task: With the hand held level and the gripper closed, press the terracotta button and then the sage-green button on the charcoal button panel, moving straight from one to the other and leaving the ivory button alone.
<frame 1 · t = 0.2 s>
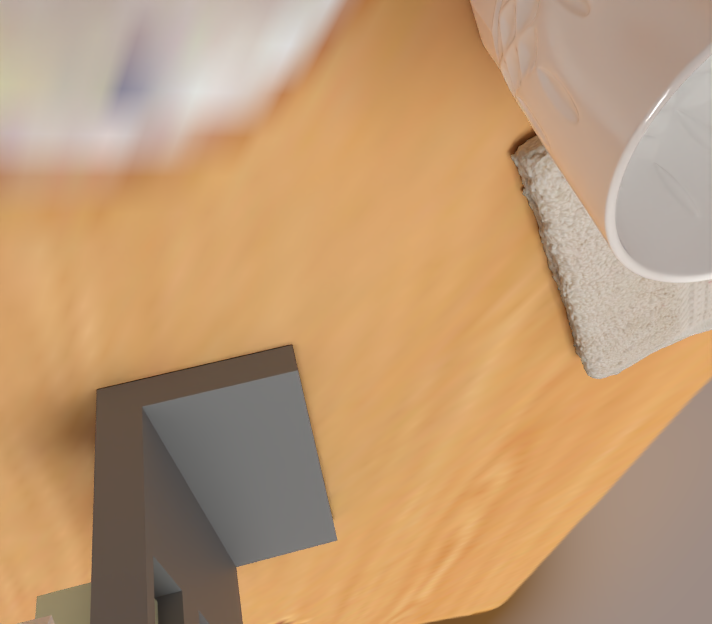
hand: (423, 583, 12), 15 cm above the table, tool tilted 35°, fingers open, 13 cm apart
washcloth: (657, 210, 31), on the table
button panel: (179, 483, 37), on the table
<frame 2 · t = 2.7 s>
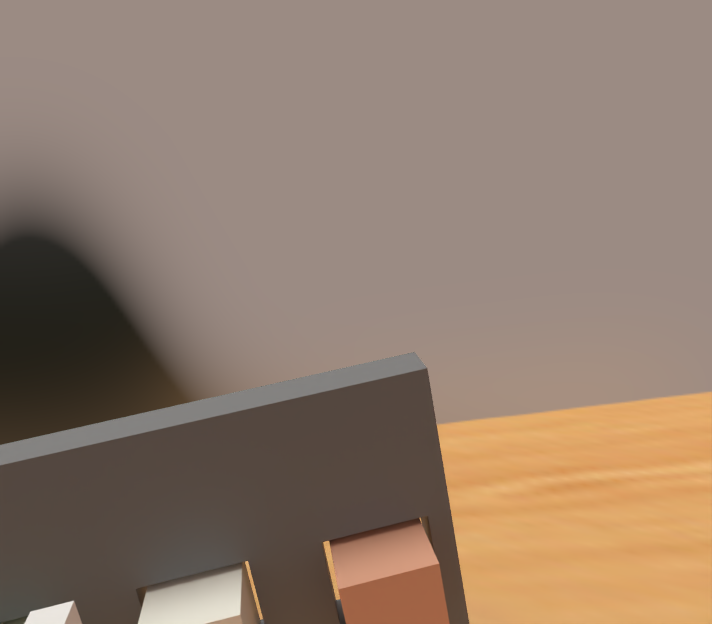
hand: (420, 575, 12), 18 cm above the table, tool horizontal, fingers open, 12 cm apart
terracotta button: (388, 587, 25), point 10 cm above the table, slide at 0.0 cm
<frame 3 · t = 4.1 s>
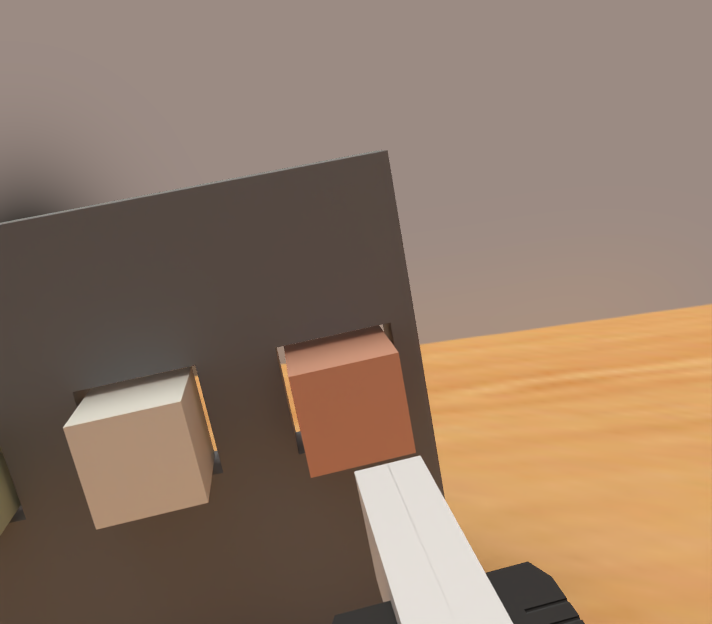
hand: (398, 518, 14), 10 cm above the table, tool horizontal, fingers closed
ivory button: (146, 442, 22), point 10 cm above the table, slide at 0.0 cm
terracotta button: (346, 396, 23), point 10 cm above the table, slide at 0.0 cm
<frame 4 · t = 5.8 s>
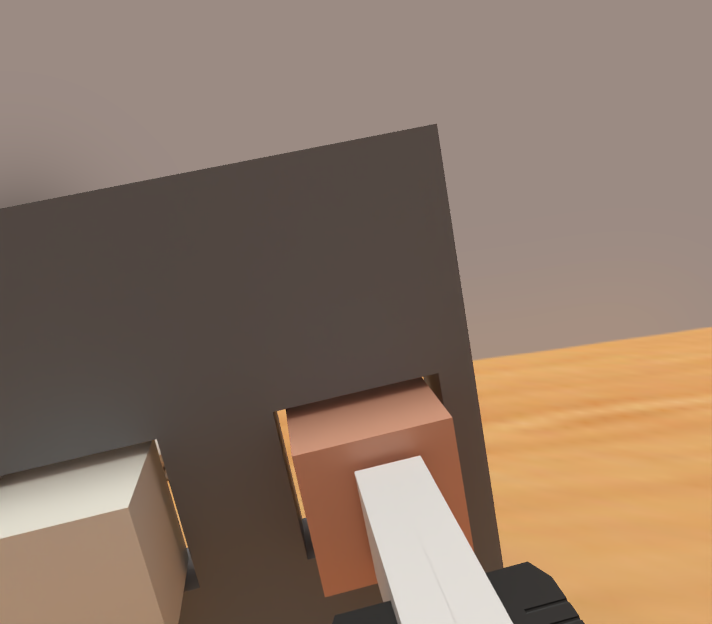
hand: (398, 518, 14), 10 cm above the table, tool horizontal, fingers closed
ivory button: (85, 555, 15), point 10 cm above the table, slide at 0.0 cm
terracotta button: (373, 472, 16), point 10 cm above the table, slide at 0.5 cm, touching gripper
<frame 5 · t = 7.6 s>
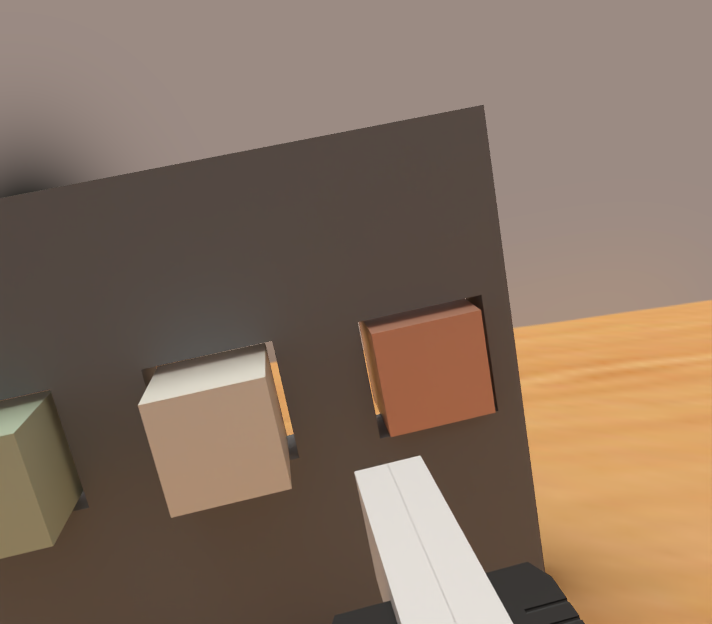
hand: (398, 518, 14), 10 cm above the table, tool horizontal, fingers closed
ivory button: (221, 424, 20), point 10 cm above the table, slide at 0.0 cm
terracotta button: (422, 358, 23), point 10 cm above the table, slide at 1.8 cm
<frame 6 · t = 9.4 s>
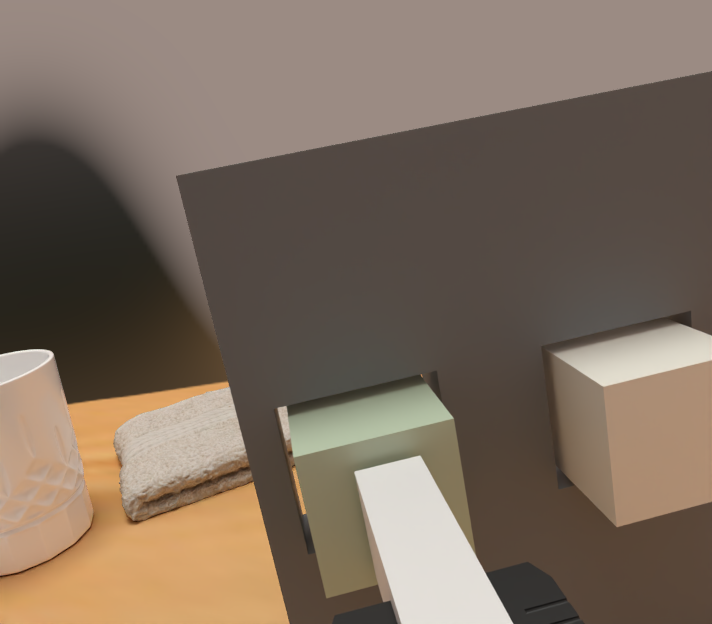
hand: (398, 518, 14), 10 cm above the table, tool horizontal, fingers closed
washcloth: (258, 449, 44), on the table
white cup: (33, 542, 37), on the table
sage button: (374, 473, 16), point 10 cm above the table, slide at 0.2 cm, touching gripper
ivory button: (639, 412, 17), point 10 cm above the table, slide at 0.0 cm
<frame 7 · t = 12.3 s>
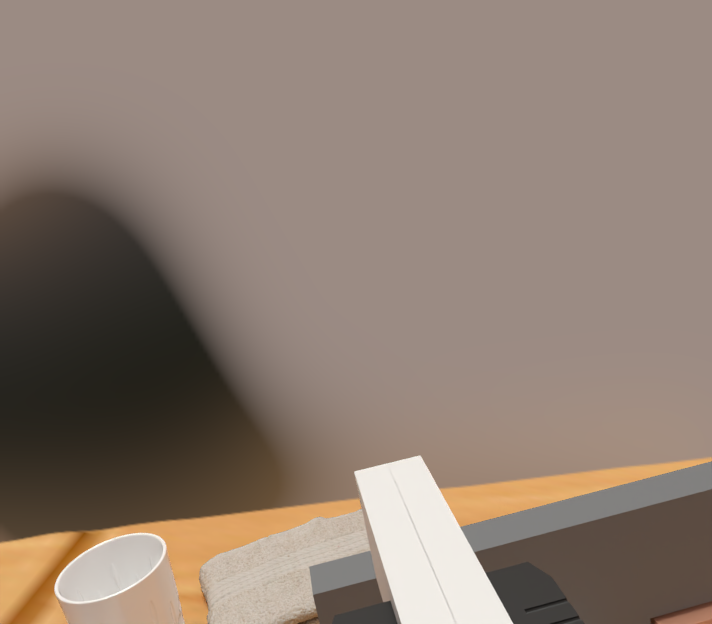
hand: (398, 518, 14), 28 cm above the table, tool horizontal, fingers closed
washcloth: (310, 591, 57), on the table
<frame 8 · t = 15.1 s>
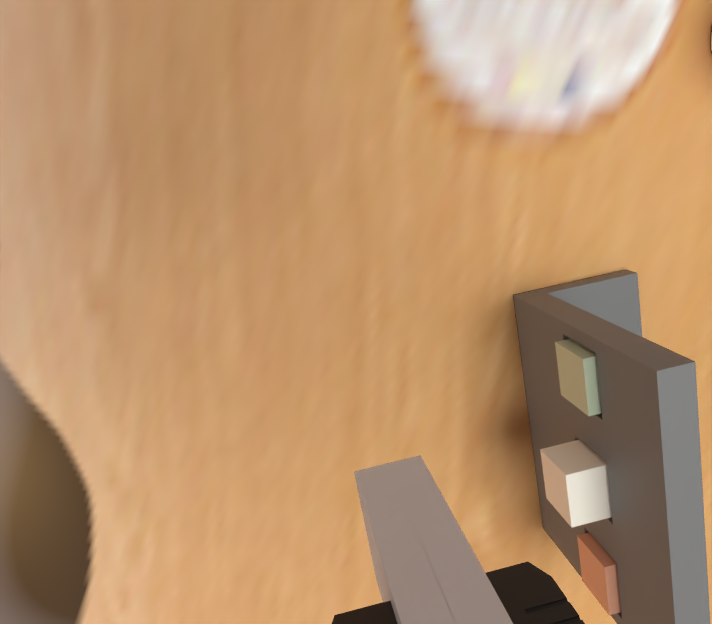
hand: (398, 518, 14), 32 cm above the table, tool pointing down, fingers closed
sage button: (598, 371, 40), point 10 cm above the table, slide at 1.8 cm
button panel: (541, 414, 51), on the table
ivory button: (581, 480, 41), point 10 cm above the table, slide at 0.0 cm
terracotta button: (617, 567, 43), point 10 cm above the table, slide at 1.8 cm
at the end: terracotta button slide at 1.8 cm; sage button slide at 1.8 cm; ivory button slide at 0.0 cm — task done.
